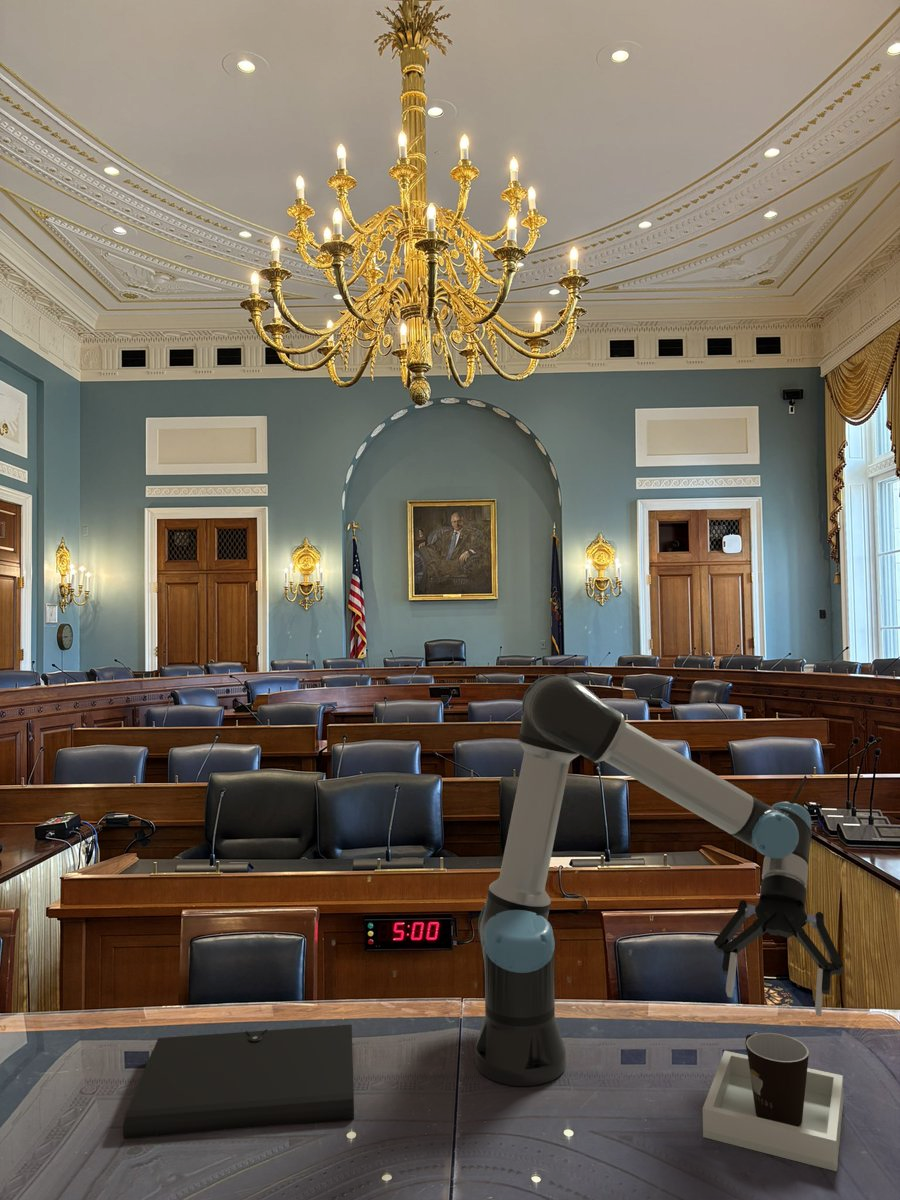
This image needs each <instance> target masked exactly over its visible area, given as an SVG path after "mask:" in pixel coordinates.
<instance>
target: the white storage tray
mask: <svg viewBox="0 0 900 1200" xmlns="http://www.w3.org/2000/svg"><path fill="white" fill-rule="evenodd" d="M843 1110H844V1076H843V1075H842V1074H838V1073H833V1072H829V1071H823V1070H820V1069H813V1068H809V1067H807V1077H806V1087H805V1097H804V1107H803V1117H802V1123H801V1125H800V1126H799V1127H796V1126H792V1125H788V1124H784V1123H780V1122H776V1121H772V1120H767V1119H763V1118H759V1117H757V1116H756V1112H755V1104H754V1097H753V1090H752V1083H751V1075H750V1068H749V1061H748V1054H742V1053H737V1052H733V1051H729V1050H724V1051H723V1053H722V1057H721V1059H720V1062H719V1065H718V1067H717V1070H716V1072H715V1075H714V1078H713V1080H712V1083H711V1086H710V1087H709V1091H708V1093H707V1096H706V1099H705V1101H704V1104H703V1106H702V1137H703V1138H706V1139H709V1140H713V1141H717V1142H720V1143H725V1144H728V1145H732V1146H736V1147H740V1148H744V1149H748V1150H752V1151H756V1152H760V1153H764V1154H766V1155H767V1154H768V1155H772V1156H775V1157H780V1158H783V1159H787V1160H792V1161H795V1162H799V1163H803V1164H806V1165H810V1166H814V1167H818V1168H822V1169H826V1170H830V1171H833V1172H837V1171H838V1162H839V1151H840V1140H841V1132H842V1131H841V1130H842V1121H843Z"/></svg>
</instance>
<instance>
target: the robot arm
mask: <svg viewBox="0 0 900 1200" xmlns="http://www.w3.org/2000/svg"><path fill="white" fill-rule="evenodd" d="M521 705H522V706H521V707H522V714H523V715H522V720H521V724H520V730H519V736H518V739H517V741H518V744H519V745H520V746H521V748H522V750H523V755H522V762H521V767H520V771H519V775H518V776H519V777H518V782H517V786H516V792H515V796H514V801H513V806H512V807H513V808H512V811H511V817H510V821H509V822H510V823H509V826H508V830H507V831H508V833H507V838H506V842H505V846H504V851H503V857H502V862H501V868H500V872H499V877H497V879H496V880H494V881H493V882H491V883H490V884H489V886H488V889H487V893H486V894H487V896H486V900H485V904H484V905H483V907H482V909H481V912H480V913H479V918H478V924H477V925H478V927H477V929H478V936H479V939H480V943H481V950H482V951H481V952H482V956H483V963H484V1001H485V1002H484V1004H485V1005H484V1006H485V1007H484V1008H485V1011H484V1013H485V1014H484V1019H483V1021H482V1025H481V1027H480V1030H479V1035H478V1038H477V1041H476V1044H475V1053H474V1054H475V1057H474V1058H475V1066H476V1068H477V1070H478V1071H479V1073H481V1074H482V1075H483V1076H484V1077H486V1078H487V1079H489V1080H491V1081H494V1082H497V1083H500V1084H504V1085H507V1086H514V1087H515V1086H516V1087H529V1086H530V1087H531V1086H538V1085H543V1084H547V1083H549V1082H552V1081H554V1080H556V1079H557V1078H559V1077H560V1076H561V1075H563V1073H564V1072H565V1070H566V1067H567V1052H566V1045H565V1043H564V1040H563V1036H562V1033H561V1032H560V1028H559V1025H558V1022H557V1019H556V1015H555V960H554V959H555V958H554V957H555V947H556V946H555V945H556V942H555V937H554V931H553V927H552V925H551V923H550V922H549V921H548V917H549V913H550V907H551V903H552V902H551V901H552V900H551V897H550V896H549V894H548V893H547V891H546V886H547V885H546V883H547V879H548V874H549V869H550V864H551V859H552V855H553V848H554V844H555V838H556V834H557V828H558V823H559V818H560V813H561V808H562V803H563V798H564V795H565V793H564V792H565V787H566V783H567V778H568V773H569V768H570V763H571V762H572V761H573V760H574V759H576V758H577V757H579V756H580V755H581V756H583V757H584V758H586V759H588V760H590V761H592V762H593V763H599V762H605V763H607V764H609V765H611V766H612V767H614V768H615V769H617V770H619V771H620V772H623V773H624V774H626V775H628V776H629V777H631V778H633V779H635V780H636V781H638V782H640V783H641V784H643V785H645V786H646V787H648V788H650V789H652V790H653V791H656V793H658V794H661V795H663V796H664V797H666V798H667V799H669V800H671V801H673V803H676V804H677V805H680V806H682V807H683V808H685V809H686V810H688V811H690V812H691V813H693V814H695V815H697V817H700V818H702V819H704V820H705V821H707V822H709V823H711V824H712V825H714V826H716V827H718V828H719V829H720V830H723V831H725V832H726V833H728V834H729V835H731V836H733V838H736V839H737V840H739V841H741V842H743V843H744V844H746V845H748V846H750V847H751V848H753V849H755V850H756V852H758V853H759V854H761V855H763V857H764V858H763V864H762V871H761V879H762V880H761V882H760V892H759V899H758V903H757V905H753V904H750V903H748V902H747V901H746V900H744V899H742V900H740V901H739V903H738V907H737V911H736V912H735V913H734V914H733V916H732V917H731V918H730V920H729V921H728V923H727V924H726V925H725V926H724V927H723V928H722V930H721V931H720V932H719V934H718V935H717V937H716V938H715V939H714V941H713V943H714V948H715V951H716V952H717V953H721V954H723V958H722V966H721V968H722V973H723V975H725V976H727V978H726V985H725V993H726V996H727V998H731V999H733V998H734V997H733V996H734V995H733V994H734V988H735V981H736V980H735V979H736V974H737V973H736V971H737V964H738V958H737V954H739V952H741V951H742V950H744V949H745V948H746V947H748V946H749V945H750V944H751V943H752V942H753V941H755V940H756V939H757V938H758V937H762V936H763V935H764V934H766V933H768V934H769V935H770V936H781V937H783V938H787V939H790V937H793V936H794V937H795V939H796V941H797V942H798V943H799V944H800V945H801V946H802V947H803V949H804V950H805V951H806V952H807V954H808V955H809V957H810V958H811V959H812V960H813V962H814V963H815V964H816V966H817V967H818V968H817V969H816V970H817V971H816V974H817V975H816V989H815V1000H814V1001H815V1002H814V1003H815V1004H814V1009H815V1010H814V1011H815V1016H819V1017H822V1009H823V1008H822V1007H823V995H827V996H828V995H830V993H831V984H832V976H833V975H838V976H840V975H843V974H844V972H845V971H844V970H845V969H844V964H843V961H842V960H841V957H840V955H839V953H838V951H837V948H836V946H835V944H834V942H833V941H832V939H831V936H830V934H829V931H828V930H827V928H826V926H825V918H824V913H823V912H821V911H817V912H816V914H808V913H806V905H807V904H806V902H807V886H808V874H809V861H810V852H811V851H810V849H811V839H812V834H813V833H812V818H811V817H812V816H811V814H810V813H809V811H808V809H806V808H805V807H804V806H802V805H800V804H798V803H796V802H795V803H790V802H789V801H780V802H776V803H774V804H772V806H771V805H768V804H767V803H765V802H763V801H761V800H760V799H758V798H756V797H754V796H752V795H751V794H749V793H747V792H746V791H744V790H743V789H741V788H739V787H737V786H735V785H734V784H732V783H731V782H729V781H727V780H725V778H722V777H720V776H719V775H717V774H715V773H713V772H712V771H710V770H709V769H706V767H703V766H701V765H700V764H698V763H696V762H694V761H693V760H691V759H689V758H687V757H685V755H682V754H681V753H679V752H677V751H676V750H674V749H673V748H670V747H669V746H667V745H665V744H664V743H662V742H661V741H658V740H657V739H655V738H654V737H652V736H650V735H648V734H646V733H645V732H643V731H641V730H640V729H638V728H636V727H634V726H633V725H632V724H630V723H628V722H626V720H625V717H624V714H623V713H622V712H620V711H619V710H617V709H615V708H614V707H612V706H611V705H609V704H608V703H607V702H605V701H603V700H602V699H601V698H599V696H598V695H596V694H595V693H593V692H592V690H590V689H589V688H587V686H585V685H584V684H582V683H581V682H578V681H577V680H575V679H574V678H571V677H568V676H567V675H566V676H565V675H563V674H554V673H553V674H547V675H544V676H541V677H540V678H538V679H536V680H535V681H534V682H532V684H531V685H530V686H529V687H528V688H527V690H526V691H525V693H524V696H523V698H522V704H521ZM753 914H754V915H755V916H756V917H757V919H755V920H754V921H753V922H752V924H751V925H749V926H748V927H747V928H746V929H744V930H743V931H742V932H741V933H739V934H738V935H737V936H735V935H736V934H737V933H738V931H739V930H740V928H741V927H742V926H743V925H744V923H745V922H746V920H747V918H748V919H749V918H750V917H751V916H752V915H753ZM807 923H809V924H810V925H811V927H812V928H813V929H814V930H817V935H818V936H819V939H820V941H821V943H822V945H823V947H824V950H825V952H826V954H827V956H828V959H829V961H830V962H829V961H828V960H827V959H826V957H825V956H824V955H823V954H822V952H821V950H819V948H818V947H817V946H816V944H815V943H814V942H813V941H812V940H811V938H810V937H809V935H808V933H806V931H805V929H804V928H803V927H805V925H807Z"/></svg>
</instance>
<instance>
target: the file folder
mask: <svg viewBox="0 0 900 1200" xmlns="http://www.w3.org/2000/svg"><path fill="white" fill-rule="evenodd" d="M353 1053H354V1052H353V1024H341V1025H340V1024H339V1025H325V1026H312V1027H299V1028H298V1027H297V1028H284V1029H283V1028H282V1029H269V1030H268V1029H265V1030H255V1031H254V1030H253V1031H248V1030H246V1031H241V1032H240V1031H239V1032H225V1033H212V1034H197V1035H196V1034H195V1035H183V1036H168V1037H158V1038H157V1040H156V1042H155V1045H154V1047H153V1049H152V1051H151V1053H150V1056H149V1058H148V1060H147V1063H146V1065H145V1067H144V1070H143V1072H142V1074H141V1077H140V1079H139V1081H138V1083H137V1086H136V1088H135V1091H134V1093H133V1096H132V1098H131V1100H130V1102H129V1105H128V1107H127V1110H126V1112H125V1115H124V1120H123V1125H122V1137H123V1139H132V1138H142V1137H143V1138H144V1137H153V1136H166V1135H169V1136H170V1135H178V1134H190V1133H201V1132H212V1131H213V1132H214V1131H225V1130H226V1131H227V1130H240V1129H247V1128H248V1129H249V1128H250V1129H252V1128H260V1127H261V1128H262V1127H271V1126H272V1127H274V1126H285V1125H298V1124H307V1123H319V1122H320V1123H321V1122H332V1121H343V1120H344V1121H345V1120H346V1121H347V1120H354V1119H355V1102H354V1101H355V1100H354V1099H355V1097H354V1090H355V1089H354V1063H353V1061H354V1060H353V1059H354V1057H353Z"/></svg>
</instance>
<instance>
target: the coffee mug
mask: <svg viewBox="0 0 900 1200" xmlns="http://www.w3.org/2000/svg"><path fill="white" fill-rule="evenodd" d="M744 1043H745V1050H746V1052H747V1055H748V1061H749V1068H750V1075H751V1083H752V1090H753V1097H754V1104H755V1112H756V1116H757V1117H759V1118H763V1119H767V1120H772V1121H776V1122H780V1123H784V1124H788V1125H792V1126H796V1127H799V1126H800V1125H801V1123H802V1117H803V1107H804V1097H805V1087H806V1077H807V1068H809V1066H808V1065H809V1056H810V1055H809V1054H810V1051H809V1048H808V1047H807V1046H806V1044H804V1043H803V1042H802V1041H800V1040H799V1039H797V1038H794V1037H792V1036H789V1035H785V1034H781V1033H776V1032H775V1033H774V1032H761V1033H760V1032H759V1033H756V1034H747V1035H746V1036H745V1041H744Z"/></svg>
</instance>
